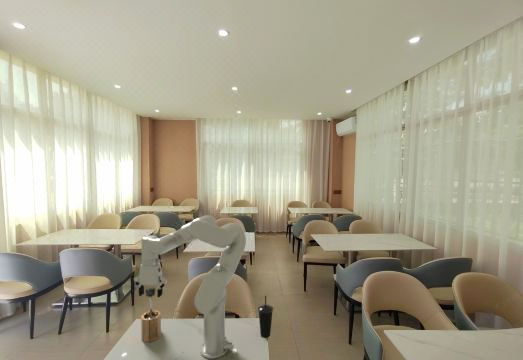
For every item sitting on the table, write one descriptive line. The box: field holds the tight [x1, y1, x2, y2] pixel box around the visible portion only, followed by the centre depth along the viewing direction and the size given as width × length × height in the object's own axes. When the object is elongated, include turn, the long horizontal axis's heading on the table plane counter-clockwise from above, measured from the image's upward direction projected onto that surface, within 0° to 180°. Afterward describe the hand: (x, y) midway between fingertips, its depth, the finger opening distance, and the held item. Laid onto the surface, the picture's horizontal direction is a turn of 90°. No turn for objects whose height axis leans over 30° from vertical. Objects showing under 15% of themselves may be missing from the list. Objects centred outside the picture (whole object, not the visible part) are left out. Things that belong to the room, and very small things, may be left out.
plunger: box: [145, 286, 156, 319], centre depth 129 cm, size 5×5×15 cm
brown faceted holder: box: [140, 309, 162, 343], centre depth 130 cm, size 9×10×11 cm
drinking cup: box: [257, 295, 274, 339], centre depth 131 cm, size 8×8×20 cm
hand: (150, 295), depth 129 cm, fingers open, 9 cm apart
